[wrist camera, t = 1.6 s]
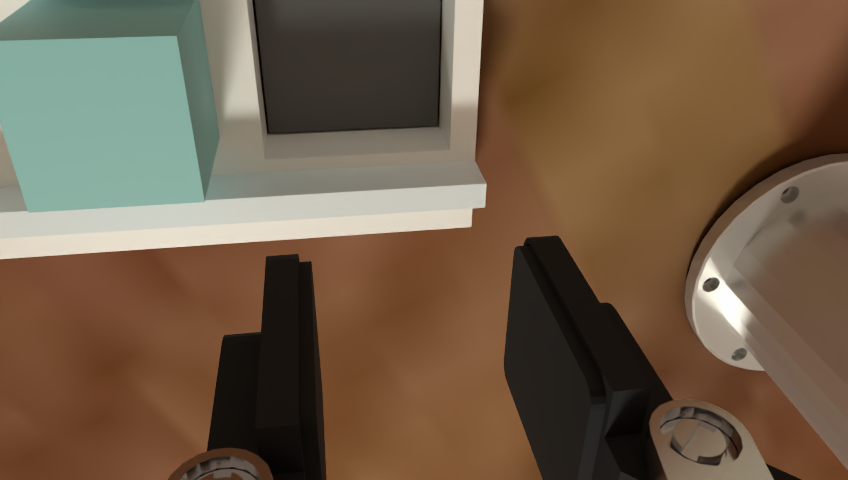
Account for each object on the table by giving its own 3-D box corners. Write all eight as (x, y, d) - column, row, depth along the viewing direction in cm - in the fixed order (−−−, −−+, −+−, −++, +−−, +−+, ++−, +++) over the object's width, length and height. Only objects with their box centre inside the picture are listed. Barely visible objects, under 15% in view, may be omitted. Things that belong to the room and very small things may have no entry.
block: (198, -7, 23) (176, 35, 19) (219, 137, 26) (204, 202, 21) (34, -3, 22) (-27, 41, 18) (73, 144, 25) (28, 212, 21)
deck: (475, -167, 24) (508, -161, 20) (459, 198, 31) (481, 252, 28) (-485, -175, 20) (-665, -171, 16) (-248, 242, 27) (-335, 312, 24)
